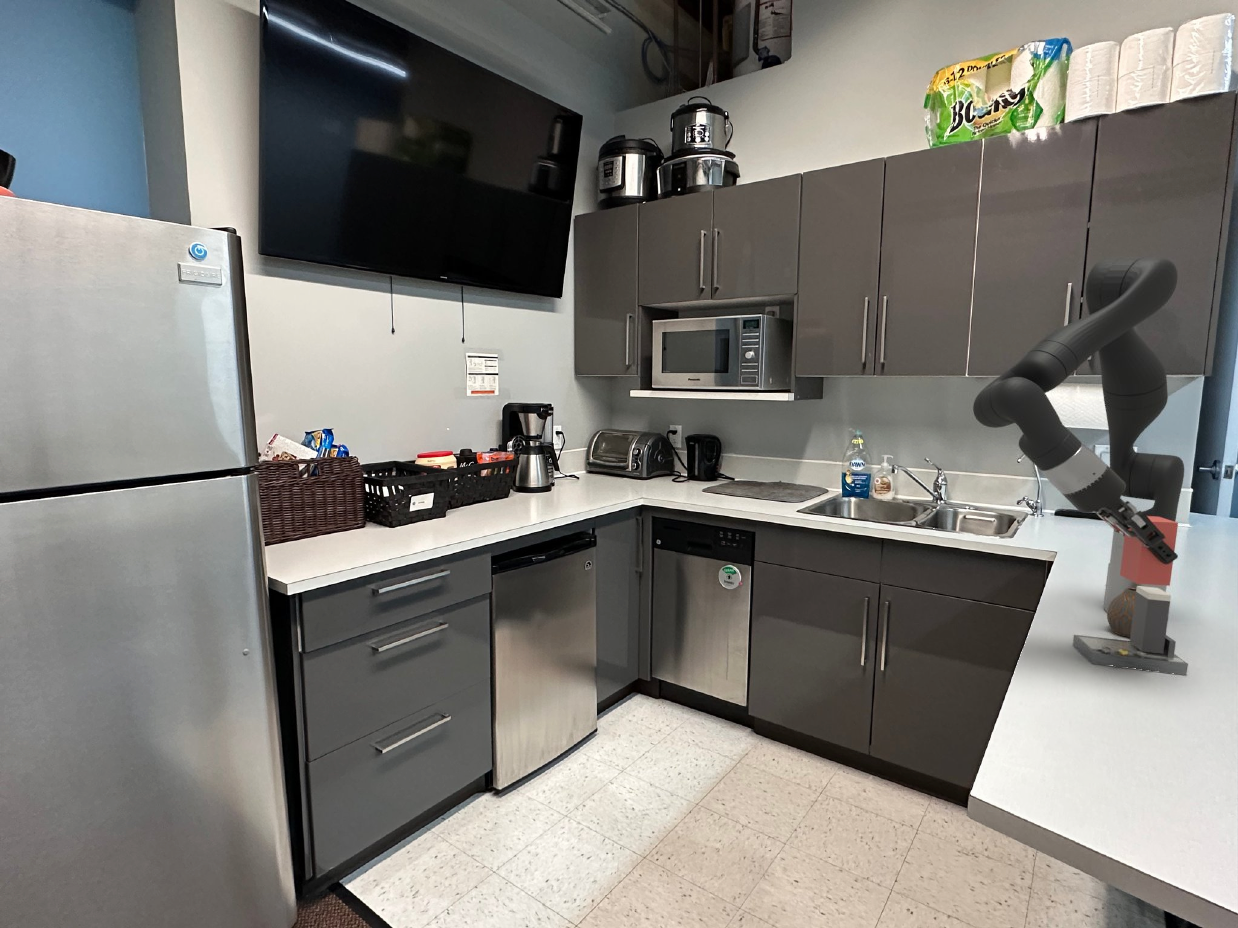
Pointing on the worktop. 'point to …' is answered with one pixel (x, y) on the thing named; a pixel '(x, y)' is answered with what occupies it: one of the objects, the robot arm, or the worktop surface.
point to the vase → (1122, 612)
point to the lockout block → (1148, 556)
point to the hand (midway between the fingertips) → (1161, 555)
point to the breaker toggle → (1150, 619)
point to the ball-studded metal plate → (1129, 654)
